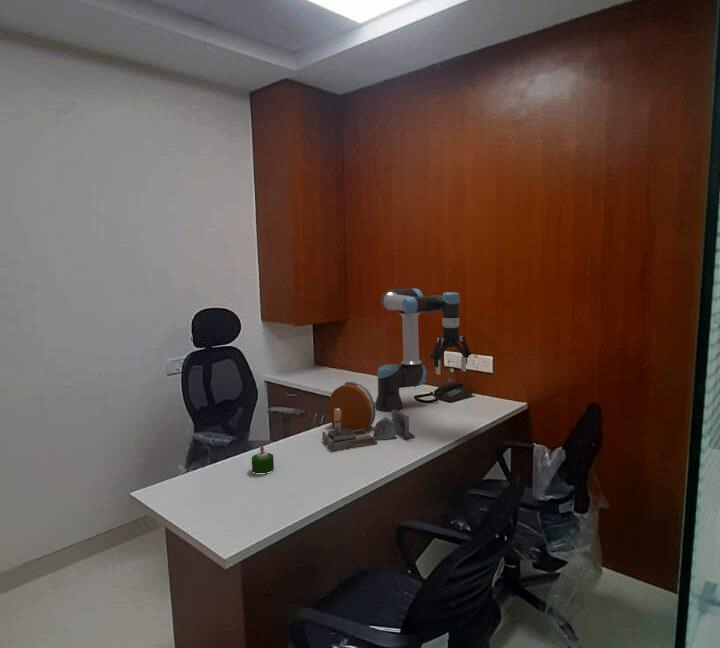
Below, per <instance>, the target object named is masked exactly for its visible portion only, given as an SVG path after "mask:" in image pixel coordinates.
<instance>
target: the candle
mask: <svg viewBox="0 0 720 648" xmlns="http://www.w3.org/2000/svg"><path fill="white" fill-rule="evenodd" d="M259 449H260V451H259V452H257V453H256V454H254V455H252V456H251V470H252V471H253V472H255V473H267V472H270V471H272V470H273V469H274V470H275V465H274V464H275V463H274V462H275V461H274V455H273V453H270V452H267V451H264V450H265V447H264V446H263V445H260V448H259ZM252 471H251V472H252ZM253 472H252V473H253Z"/></svg>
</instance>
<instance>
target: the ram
mask: <svg viewBox="0 0 720 648" xmlns="http://www.w3.org/2000/svg"><path fill="white" fill-rule="evenodd" d="M334 423H335V427H334V429H333V430H329V431H327V434H328V436H329V437H330V438H331V439H332V440H333V441H334V443H335V442H341V441H348V440H354V439H356V434H355V433H354V432H353V431H352V430H351V429H350V428H347V429H341V423H342V416H341V408H335V409H334Z"/></svg>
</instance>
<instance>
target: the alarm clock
mask: <svg viewBox="0 0 720 648" xmlns="http://www.w3.org/2000/svg"><path fill="white" fill-rule="evenodd" d="M328 399H329V400H328V403H327V404H328V405H327V407H328V408H327V413H328V416H329V417H328V418H329V421H330V423H331V425H332V426H333V427H334V428H335V423H334V409H335V408H341V416H342V423H341V429H347V428H350V429H351V430H359V429H365V431H366V430H367V429H369V428H370V427H371V426H372V425H373V424H374V422H375V418H376V408H375V403H374V402H375V401H374V399H373V396H372V395H371V393H370V391H369V390H368V389H367V388H366V387H365V386H364V385H362V384H360V383H357V382H356V381H345V382H344V384H342V385H340V386H339V387H337V388H336V389H334V390H333V391H332V393H331V394H330V397H329V398H328Z"/></svg>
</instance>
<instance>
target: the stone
mask: <svg viewBox="0 0 720 648" xmlns="http://www.w3.org/2000/svg"><path fill="white" fill-rule="evenodd" d="M395 427H396V426H395V424H394V422H393V421H392V419H390V418H388V417H386V416H384V417H382V418H381V419H380V420H379V421H377V422H376V423H375V426H374V429H373V433H372V437H374V439H375V440H378V441H379V440H389V439H393V438H395V436H396V434H397V433H396V428H395Z"/></svg>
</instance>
